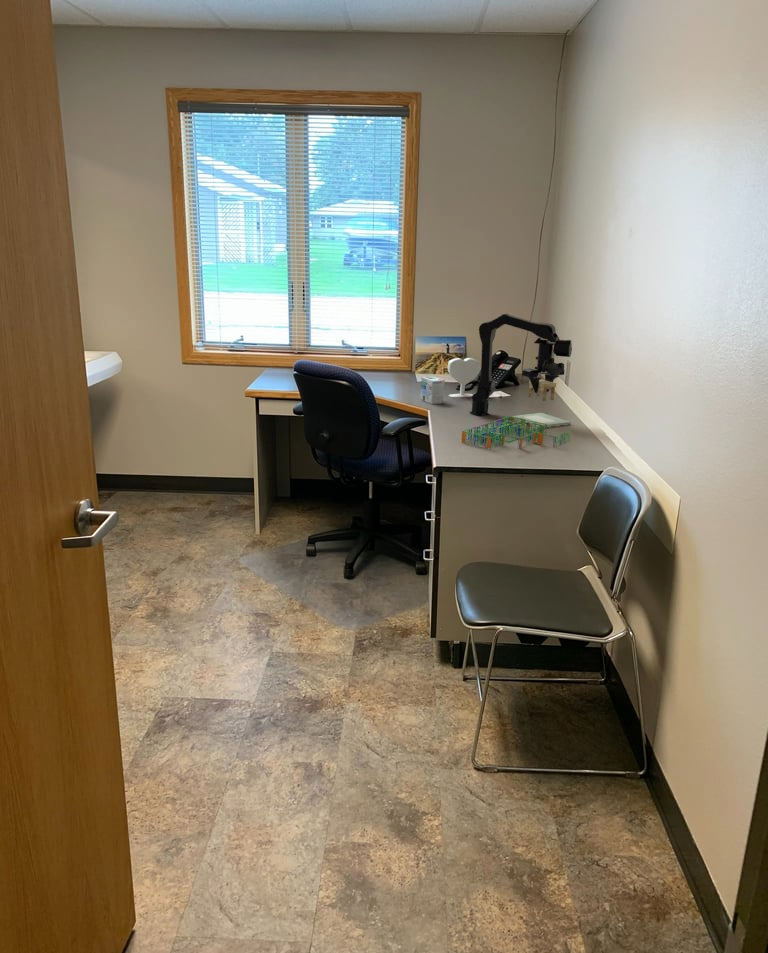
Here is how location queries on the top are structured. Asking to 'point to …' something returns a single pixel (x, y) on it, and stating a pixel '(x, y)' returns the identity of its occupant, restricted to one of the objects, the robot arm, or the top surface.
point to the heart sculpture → (463, 373)
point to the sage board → (542, 419)
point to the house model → (521, 427)
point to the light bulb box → (432, 390)
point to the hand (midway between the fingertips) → (541, 392)
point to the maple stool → (543, 389)
